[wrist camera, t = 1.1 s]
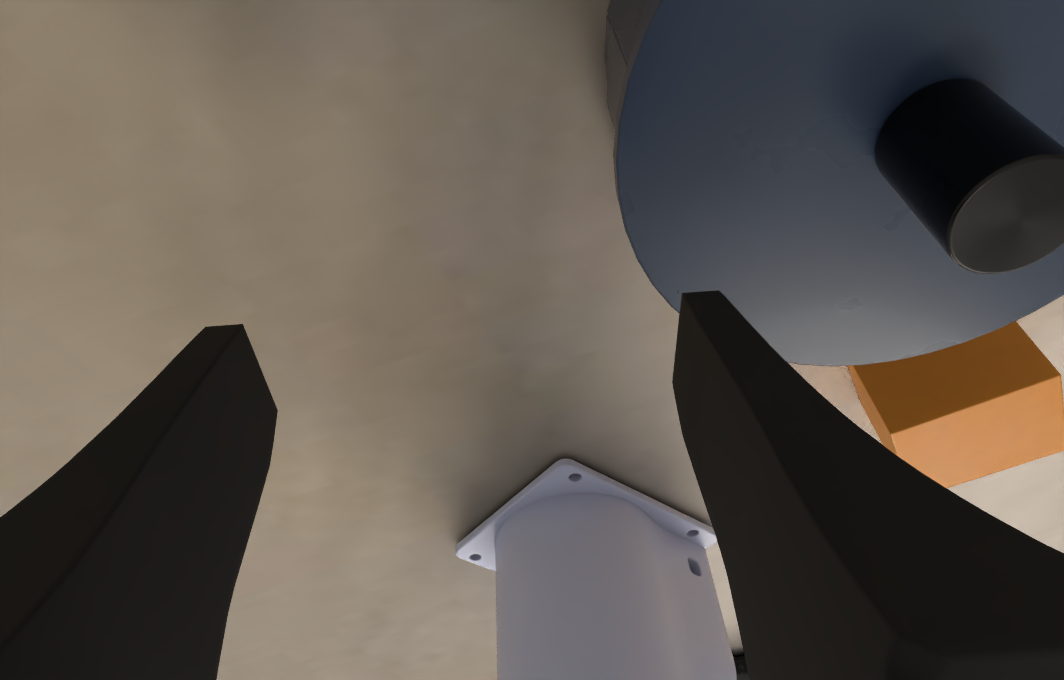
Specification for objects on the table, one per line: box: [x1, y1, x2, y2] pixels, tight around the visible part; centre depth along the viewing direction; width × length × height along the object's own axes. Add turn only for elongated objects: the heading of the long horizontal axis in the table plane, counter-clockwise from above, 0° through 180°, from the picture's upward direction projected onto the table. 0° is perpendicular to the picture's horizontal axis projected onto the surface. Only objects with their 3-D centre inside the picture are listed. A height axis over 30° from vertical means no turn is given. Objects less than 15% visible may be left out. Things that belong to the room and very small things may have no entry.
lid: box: [613, 0, 1064, 366], centre depth 14 cm, size 13×13×4 cm
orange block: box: [848, 321, 1064, 488], centre depth 26 cm, size 4×5×5 cm
